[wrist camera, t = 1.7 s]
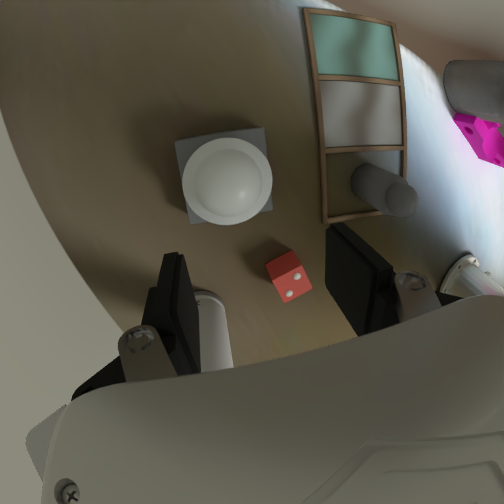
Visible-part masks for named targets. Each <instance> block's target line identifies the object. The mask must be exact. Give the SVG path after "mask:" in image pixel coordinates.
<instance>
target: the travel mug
mask: <svg viewBox="0 0 504 504" xmlns="http://www.w3.org/2000/svg"><path fill="white" fill-rule="evenodd" d="M194 295H195V298H196V302H197V305H198V310H199V331H200V358H201V373H202V372H208V371H215V370H221V369H227V368H232V367H233V362H232V355H231V349H230V342H229V335H228V329H227V322H226V315H225V308H224V303H223V301H222V300H221V299H220V298H219V297H218V296H217V295H215V294H214V293H211V292H208V291H196V292H194Z"/></svg>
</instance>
